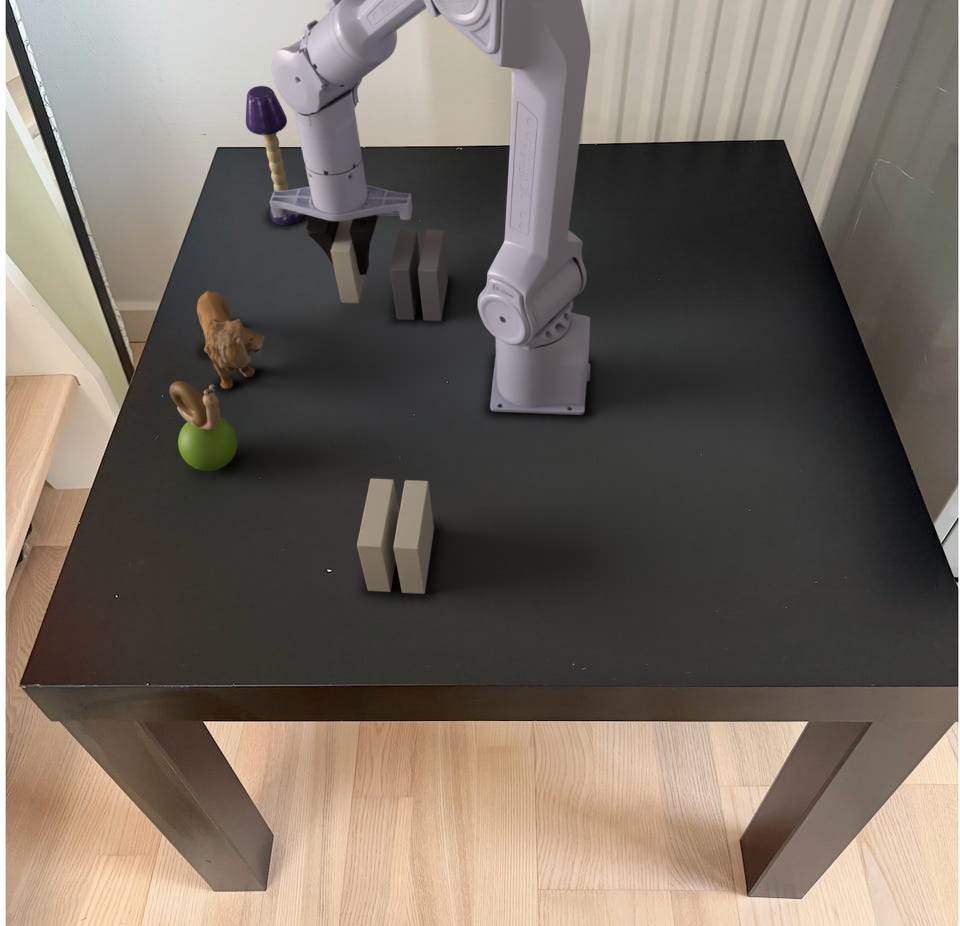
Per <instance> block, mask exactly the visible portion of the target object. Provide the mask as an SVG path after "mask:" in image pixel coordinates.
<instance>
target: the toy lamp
mask: <svg viewBox="0 0 960 926" xmlns="http://www.w3.org/2000/svg"><path fill="white" fill-rule="evenodd" d="M245 102H246V103H245V126H246V128H247V130H248V131H249V132H251V133H252V134H253V135H258V136H262V137H263V144H264V147H265V149H266V157H267V159H268V161H269V162H268V166H269V170H270V171H271V174H270V175H271V180H272V182H273V191H285V190H289V184H288V182H287V173H286V172H285V164H284V160H283V158H282V157H283V155H282V154H283V153H282V150H281V148H280V140H279V138H278V136H277V133H279V132H280V131H282V130H284V129H285V127H286V126H287V124H288V123H287V122H288V119H287V115H286V114H285V111H284V109H283V107H282V105H281V103H280V101H279V99H278V97H277V95H276V93H275V91H274V90H273V88H272V87H270V86H266V85H257V86H254V87H252V88H250V89H249V90H248V91H247V94H246V101H245ZM269 216H270V219H271V221H272V222H273V223H275V224H277V225H281V226H288V225H293V224H296V223H298V222H299V221H301V220H302V219H303V218H304V216H305V214H284V216H283V217H273V213H272V209H271V208H270V211H269Z"/></svg>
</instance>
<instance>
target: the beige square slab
mask: <svg viewBox="0 0 960 926" xmlns="http://www.w3.org/2000/svg"><path fill="white" fill-rule="evenodd" d="M352 220H353V219H351V220H346V221H339V225H338V229H337V232H336V235H335V239H334V242H333V245H332V249H331V255H332V260H333V265H334V267H333V270H334V274H335V279H336V285H337V289H338V290H337V291H338V293H339V299H340V303H343V304H359V303H360V300H361V295H362V292H363V288H364V284H365V280H366V276H367V274H366V275H360V273H359V269H358V263H357V254H356V250H355V247H354V243H353V240H352V238H351V236H350V232H349V230H350V227H351V224H352ZM333 265H332V266H333Z"/></svg>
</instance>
